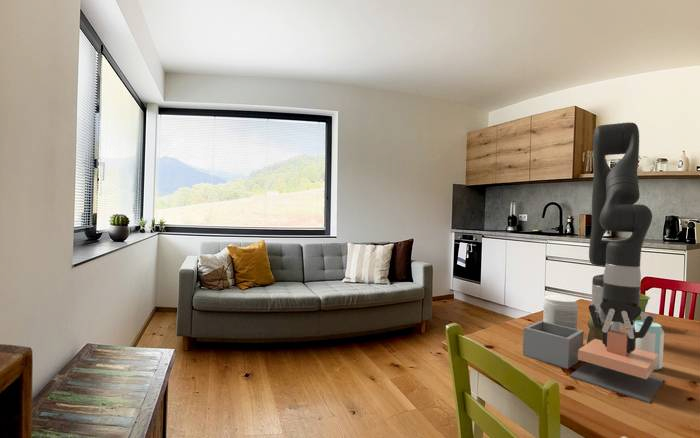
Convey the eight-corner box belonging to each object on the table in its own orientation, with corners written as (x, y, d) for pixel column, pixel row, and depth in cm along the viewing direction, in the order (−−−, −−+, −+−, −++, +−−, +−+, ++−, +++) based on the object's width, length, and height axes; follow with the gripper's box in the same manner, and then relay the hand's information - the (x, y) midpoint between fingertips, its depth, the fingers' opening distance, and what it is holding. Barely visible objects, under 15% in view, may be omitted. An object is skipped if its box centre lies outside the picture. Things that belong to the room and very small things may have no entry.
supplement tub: (582, 345, 116) (584, 299, 116) (567, 351, 111) (569, 303, 111) (551, 336, 124) (553, 293, 124) (536, 340, 119) (538, 296, 119)
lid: (594, 347, 102) (595, 321, 102) (658, 364, 92) (659, 334, 92) (577, 359, 93) (579, 330, 93) (646, 379, 83) (648, 346, 83)
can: (623, 359, 105) (625, 319, 105) (648, 361, 105) (650, 320, 105) (642, 370, 98) (644, 326, 98) (669, 371, 98) (671, 327, 98)
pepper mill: (579, 351, 111) (581, 315, 110) (598, 351, 111) (600, 316, 111) (594, 359, 105) (596, 321, 104) (614, 359, 105) (616, 322, 105)
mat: (591, 359, 105) (591, 358, 105) (663, 380, 93) (663, 378, 93) (569, 376, 93) (569, 375, 93) (649, 403, 81) (649, 401, 81)
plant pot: (611, 316, 151) (612, 290, 151) (647, 322, 144) (649, 294, 144) (611, 323, 142) (612, 294, 142) (650, 330, 135) (651, 300, 135)
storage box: (539, 345, 114) (540, 320, 114) (582, 358, 105) (583, 330, 105) (522, 354, 107) (523, 327, 106) (567, 368, 98) (569, 339, 97)
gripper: (660, 285, 89) (657, 354, 90) (593, 276, 100) (590, 338, 100) (654, 289, 84) (650, 362, 85) (584, 279, 95) (581, 344, 95)
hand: (618, 349), depth 93 cm, fingers closed on lid, 4 cm apart
